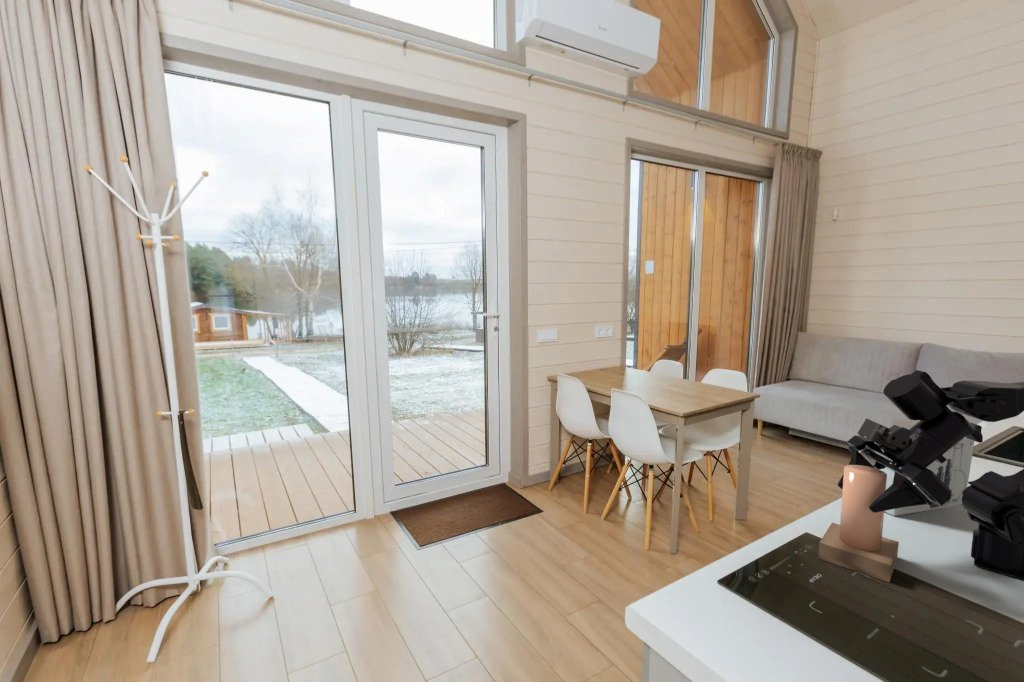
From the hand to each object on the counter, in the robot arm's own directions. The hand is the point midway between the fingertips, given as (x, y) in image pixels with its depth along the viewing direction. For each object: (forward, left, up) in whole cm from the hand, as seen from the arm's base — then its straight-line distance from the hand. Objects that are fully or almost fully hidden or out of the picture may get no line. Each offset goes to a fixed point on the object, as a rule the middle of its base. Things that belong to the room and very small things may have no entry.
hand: (854, 498), depth 84 cm
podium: (-1, -1, -11) cm, 11 cm away
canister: (-1, -1, -8) cm, 8 cm away
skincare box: (-7, -35, -11) cm, 37 cm away
